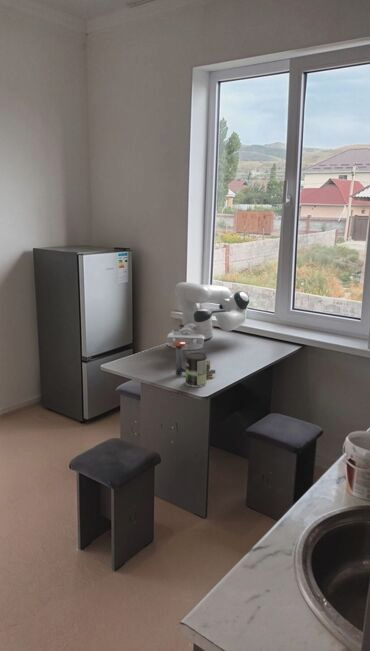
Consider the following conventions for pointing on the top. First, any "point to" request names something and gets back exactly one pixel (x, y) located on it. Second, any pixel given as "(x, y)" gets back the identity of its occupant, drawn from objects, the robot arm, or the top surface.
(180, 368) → the hook rod
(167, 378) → the top surface
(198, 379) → the coffee can
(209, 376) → the eye post
